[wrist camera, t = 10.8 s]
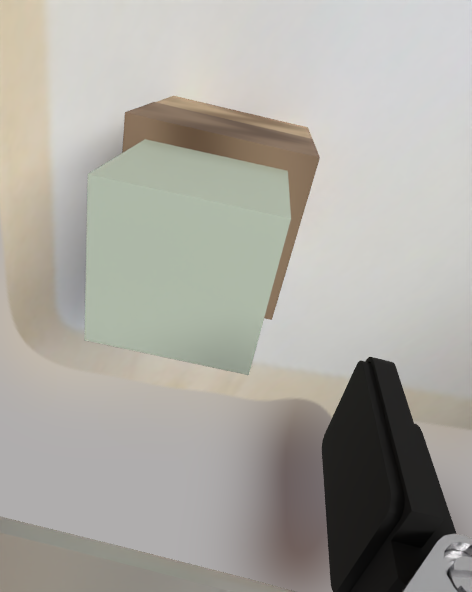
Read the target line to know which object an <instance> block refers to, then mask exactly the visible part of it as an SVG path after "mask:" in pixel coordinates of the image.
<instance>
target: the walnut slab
mask: <svg viewBox="0 0 472 592" xmlns="http://www.w3.org/2000/svg"><path fill="white" fill-rule="evenodd" d="M145 139H146V140H151V141H155V142H160V143H164V144H169V145H173V146H178V147H182V148H187V149H191V150H196V151H200V152H205V153H209V154H214V155H218V156H223V157H228V158H232V159H237V160H241V161H246V162H250V163H255V164H259V165H264V166H268V167H273V168H277V169H282V170H286V171H288V181H289V196H290V210H291V221H290V224H289V228H288V232H287V236H286V239H285V243H284V247H283V250H282V254H281V258H280V261H279V265H278V269H277V272H276V276H275V280H274V283H273V287H272V291H271V294H270V298H269V302H268V305H267V309H266V313H265V317H264V318H266V319H270V320H272V317H273V314H274V310H275V307H276V304H277V300H278V297H279V293H280V290H281V287H282V283H283V280H284V277H285V273H286V270H287V266H288V263H289V260H290V256H291V253H292V249H293V246H294V243H295V239H296V236H297V233H298V229H299V226H300V222H301V219H302V216H303V212H304V209H305V206H306V202H307V199H308V195H309V192H310V189H311V185H312V182H313V178H314V175H315V172H316V168H317V165H318V162H319V158H320V157H319V155H318V152H317V149H316V147H315V144H314V142H313V139H310V138H306V137H302V136H298V135H293V134H289V133H285V132H280V131H276V130H272V129H268V128H263V127H259V126H255V125H251V124H246V123H242V122H238V121H233V120H229V119H225V118H221V117H216V116H212V115H208V114H203V113H199V112H195V111H191V110H186V109H182V108H178V107H173V106H169V105H165V104H161V103H156V102H153V103H150V104H147V105H144V106H142V107H139V108H136V109H133V110H130V111H128V112H125V122H124V136H123V151H122V153H123V152H125V151H127V150H128V149H130V148H132V147H133V146H135V145H136V144H138V143H140V142H141V141H143V140H145Z"/></svg>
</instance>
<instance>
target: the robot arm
mask: <svg viewBox="0 0 472 592" xmlns="http://www.w3.org/2000/svg"><path fill="white" fill-rule="evenodd" d="M322 459H323V474H324V487H325V504H326V517H327V534H328V547H329V548H328V549H329V564H330V578H331V587H332V590H333V592H472V538H470V537H468V536H465V535H458V534H456V531H455V528H454V525H453V522H452V520H451V516H450V514H449V511H448V507H447V505H446V502H445V499H444V496H443V492H442V490H441V487H440V484H439V481H438V478H437V475H436V472H435V469H434V466H433V463H432V460H431V457H430V454H429V451H428V448H427V445H426V442H425V439H424V436H423V433H422V431H421V429H420V427H419V426H418V425H417V424H414V422H413V419H412V416H411V413H410V410H409V407H408V403H407V400H406V397H405V394H404V391H403V388H402V385H401V382H400V379H399V375H398V372H397V369H396V366H395V364H394V363H393V362H389V361H385V360H381V359H377V358H373V357H369V358H368V359H367V360H366V362H364V361H359V362H358V364H357V365H356V368H355V370H354V372H353V374H352V376H351V378H350V381H349V383H348V385H347V387H346V389H345V391H344V394H343V396H342V398H341V400H340V402H339V405H338V407H337V409H336V411H335V413H334V415H333V418H332V420H331V422H330V424H329V426H328V429H327V431H326V433H325V435H324V438H323V443H322ZM0 592H295V591H292V590H288V589H284V588H281V587H277V586H273V585H269V584H266V583H262V582H258V581H255V580H251V579H247V578H244V577H240V576H236V575H232V574H228V573H224V572H220V571H216V570H212V569H208V568H204V567H200V566H196V565H192V564H188V563H184V562H180V561H177V560H172V559H169V558H165V557H161V556H156V555H153V554H148V553H145V552H141V551H137V550H133V549H129V548H125V547H121V546H117V545H113V544H109V543H105V542H101V541H97V540H93V539H89V538H85V537H80V536H77V535H73V534H68V533H65V532H60V531H57V530H53V529H49V528H45V527H41V526H37V525H32V524H28V523H24V522H20V521H16V520H12V519H8V518H4V517H0Z"/></svg>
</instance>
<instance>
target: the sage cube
mask: <svg viewBox="0 0 472 592" xmlns="http://www.w3.org/2000/svg"><path fill="white" fill-rule="evenodd" d="M290 221H291V210H290V196H289V181H288V171H286V170H282V169H277V168H273V167H268V166H264V165H259V164H255V163H250V162H246V161H241V160H237V159H232V158H228V157H223V156H218V155H214V154H209V153H205V152H200V151H196V150H191V149H187V148H182V147H178V146H173V145H169V144H164V143H160V142H155V141H151V140H146V139H145V140H143V141H141V142H140V143H138V144H136V145H135V146H133V147H132V148H130V149H128V150H127V151H125V152H123V153H122V154H120V155H118V156H117V157H115V158H113V159H112V160H110V161H109V162H107V163H105V164H104V165H102V166H100V167H99V168H97V169H95V170H94V171H92V172H91V173H89V174H88V185H87V236H86V288H85V339H84V340H85V341H90V342H95V343H99V344H104V345H109V346H113V347H118V348H123V349H128V350H132V351H137V352H142V353H147V354H151V355H156V356H161V357H165V358H170V359H175V360H180V361H184V362H189V363H194V364H198V365H203V366H208V367H213V368H217V369H222V370H227V371H231V372H236V373H241V374H246V375H249V372H250V368H251V364H252V361H253V357H254V353H255V350H256V346H257V342H258V339H259V335H260V331H261V328H262V324H263V320H264V317H265V313H266V309H267V305H268V302H269V298H270V294H271V291H272V287H273V283H274V280H275V276H276V272H277V269H278V265H279V261H280V258H281V254H282V250H283V247H284V243H285V239H286V236H287V232H288V228H289V224H290Z"/></svg>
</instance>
